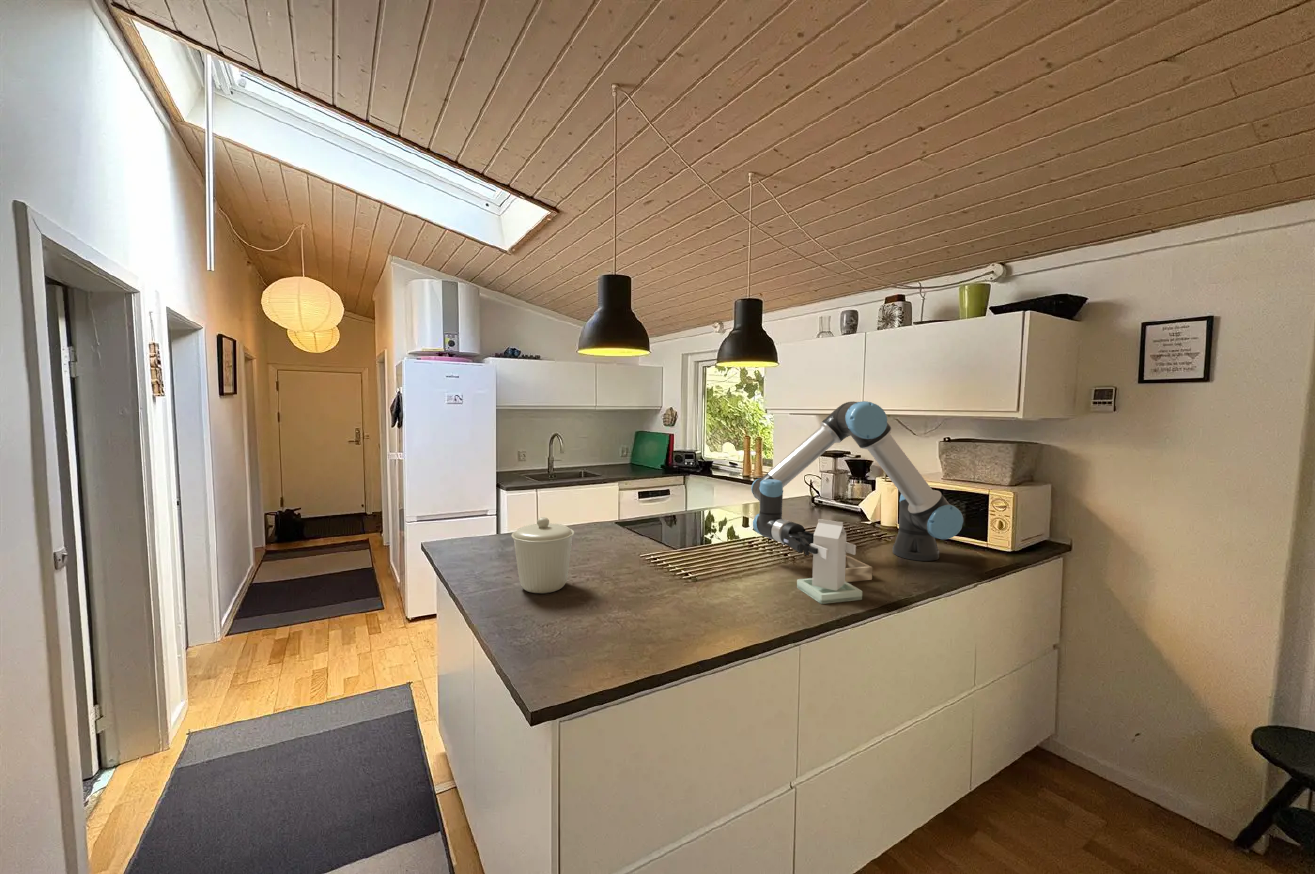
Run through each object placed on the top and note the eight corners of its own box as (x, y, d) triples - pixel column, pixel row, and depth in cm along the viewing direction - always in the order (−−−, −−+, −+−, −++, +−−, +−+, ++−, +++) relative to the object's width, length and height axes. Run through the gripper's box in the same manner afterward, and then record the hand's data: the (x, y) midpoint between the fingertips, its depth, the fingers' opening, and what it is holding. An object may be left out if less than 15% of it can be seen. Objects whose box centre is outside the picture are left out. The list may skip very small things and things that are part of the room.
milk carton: (836, 591, 148) (838, 524, 147) (812, 585, 152) (813, 521, 151) (844, 584, 154) (847, 520, 152) (820, 579, 158) (822, 516, 157)
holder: (846, 566, 178) (846, 555, 177) (871, 579, 165) (872, 566, 165) (812, 569, 174) (812, 557, 174) (835, 583, 162) (835, 570, 162)
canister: (560, 601, 146) (560, 526, 145) (500, 596, 150) (499, 523, 148) (583, 579, 164) (582, 512, 162) (528, 575, 168) (527, 509, 166)
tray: (834, 583, 161) (835, 575, 161) (862, 599, 149) (862, 590, 148) (796, 587, 158) (797, 579, 158) (821, 604, 145) (821, 595, 145)
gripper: (815, 541, 173) (869, 560, 153) (760, 548, 164) (810, 570, 144) (816, 518, 173) (870, 534, 153) (761, 525, 163) (810, 543, 143)
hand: (841, 551), depth 148 cm, fingers closed on milk carton, 9 cm apart
